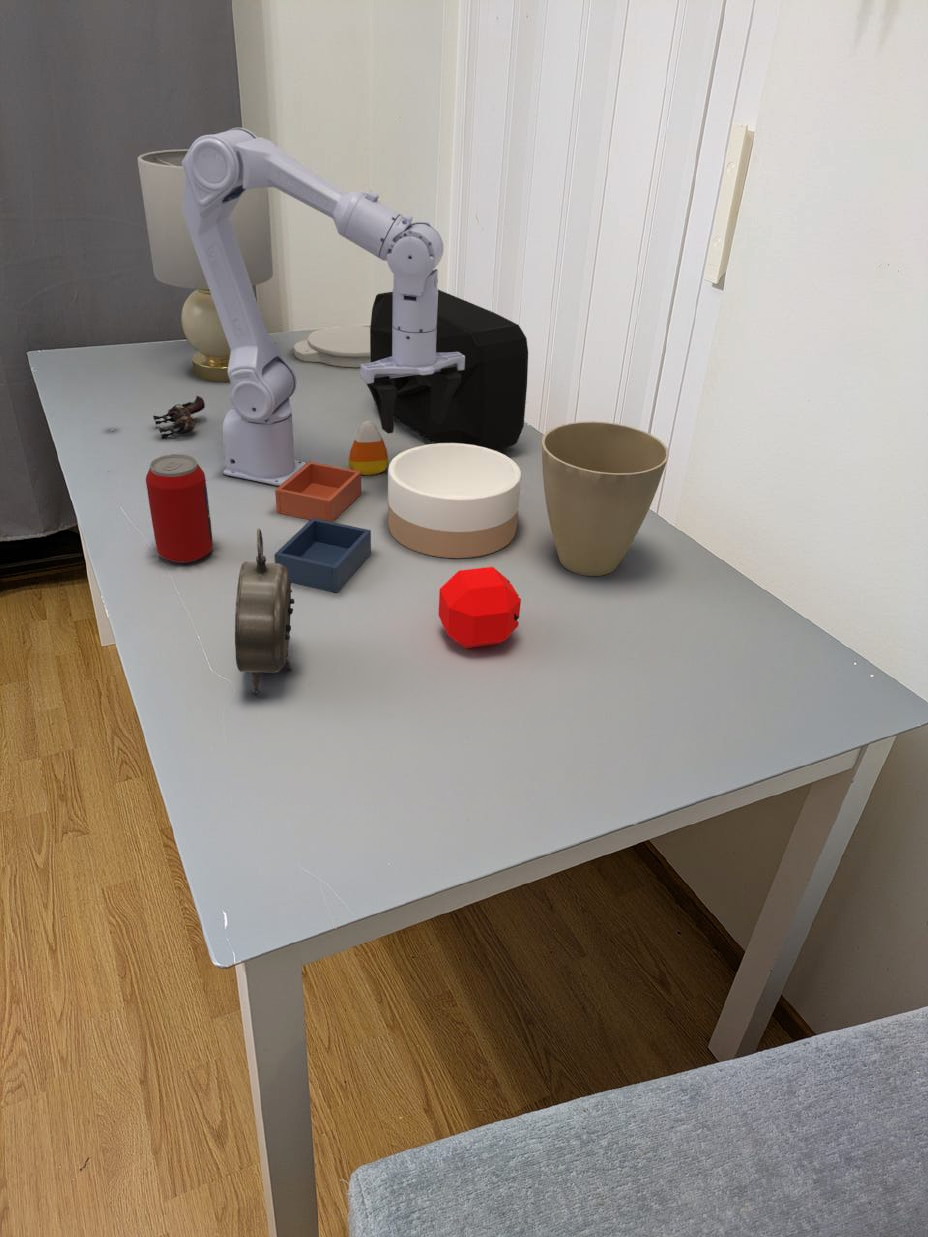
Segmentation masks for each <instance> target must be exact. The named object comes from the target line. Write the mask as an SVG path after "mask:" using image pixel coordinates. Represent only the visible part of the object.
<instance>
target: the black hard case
mask: <svg viewBox="0 0 928 1237" xmlns="http://www.w3.org/2000/svg"><path fill="white" fill-rule="evenodd" d="M392 326H393V291H387V292H380V293H378V294H376V295H375V298H374V301H373V304H372V308H371V317H370V326H369V327H370V359H371V363H372V362H375V361H378V360H382V359H385V358H388V357H391V356H392ZM449 352H459V353H461V354H462V355H464V356H465V367H464V370H459V371H458V370H457V372H458V373H459V374H461V383H460V384H459V386H458V387H457V389H456V390H455V392H454V394H453V396H452V398H451V400H450V402H449V405H448V407H447V410H446V413H445V417H444V420H443V424H441V425H438V424H437V423H435V422H434V421H432V419H431V384H430V376H429V375H420V374H418V375H411V376H404V377H397V378H390V381H391V382H392V385H393V386H394V387H395V388H397V389H398V391H397V395H396V399H395V405H394V419H397V420H398V421H400V422H402V424H404V425H406V426H407V427H409V428H410V429H412V430H413V431H415V432H416V433H417V434H419V435H421V436H423V437H425V438H426V439H428V440H430V441H431V442H433V443H434V444H437V443H460V444H469V445H476V446H480V447H485V448H488V449H491V450H494V451H497V452H498V451H500V450H504V449H508V448H510V447H512V446H515V445H516V444H518V442H519V439H520V436H521V434H522V431H523V429H524V426H525V417H526V416H525V415H526V414H525V413H526V404H527V402H526V401H527V391H528V374H529V347H528V339H527V337H526V334H525V333H524V331H523V329H522V328H521V326H520V325H519V324H518V323H516V322H514V321H512V320H510V319H508V318H506V317H504V316H502V315H500V314H498V313H496V312H494V311H492V310H490V309H487V308H484V307H482V306H479V305H477V304H474V303H472V302H470V301H468V300H465V299H462V298H460V297H458V296H455V295H453V294H450V293H448V292H445V291H443V290H440V289H438V306H437V335H436V353H449Z"/></svg>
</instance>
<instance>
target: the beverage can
mask: <svg viewBox="0 0 928 1237" xmlns="http://www.w3.org/2000/svg"><path fill="white" fill-rule="evenodd" d="M145 484H146V493H147V499H148V506H149V511H150V518H151V525H152V530H153V536H154V541H155V548H156V552H157V554H158V556H160V557H161V558H163V559H165V560H168V561H171V562H173V563H178V564H179V563H180V564H185V563H193V562H196V561H199V560H201V559H202V558H203V557H205V556H207V555H208V554H210V552H211V551H212V550H213V548H214V541H213V531H212V521H211V514H210V505H209V497H208V489H207V488H208V487H207V479H206V473H205V472H204V470H203V469H202V467H201V466H200V465H199V463H198V460H197V459H196V458H195V457H193V456H191V455H188V454H181V453H180V454H179V453H177V454H175V453H174V454H173V453H172V454H165V455H161V456H158V457H156V458H154V459H153V460H152V461H151V462H150V463H149V468H148V470H147V473H146V476H145Z"/></svg>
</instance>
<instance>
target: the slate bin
mask: <svg viewBox="0 0 928 1237" xmlns="http://www.w3.org/2000/svg"><path fill="white" fill-rule="evenodd" d="M371 554H372V530H371V529H366V528H362V527H358V526H353V525H348V524H343V523H338V522H335V521H333V522H330V521H325V520H320V519H316V518H312V519H311V520H308V522H306V523H305V525H303V526H302V528H300V529H299V530H298V531H297V532H296V533H294V535H293V536H292V537H291V538H290V539H288V540H287V541H286V542H285V543H284V544H283V545H282V546H281V547H280V548H279V549H278V550H277V551H276V552H275V553H274V563H279V564H282V565H283V566H285V567H286V568H287V570H288V572H289V575H290V582H291V583H294V584H297V585H302V586H306V587H311V588H314V589H319V590H323V591H328V592H330V593H331V592H332V593H338V592H339V591H340V590H341V589H342V588H343V587H344V585H346V583H347V582H348V581H349V580H350V579H351V577H352V576H353V575H354V574H355V573H356V572H357V570H358V569H359V568H360V567H361V566H362V565H363V564H364V563H365V562H366V560H367V559H368V558H369V557H370V556H371Z"/></svg>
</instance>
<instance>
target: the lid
mask: <svg viewBox="0 0 928 1237" xmlns="http://www.w3.org/2000/svg"><path fill="white" fill-rule="evenodd" d="M292 349H293V350H292V351H293V355H294V357H295V358H296V359H297V360H300V361H302V362H310V363H321V364H324V365H328V366H332V367H340V368H356V369H358V368H361V365H362V364H368V363H371V359H370V326H365V325H364V326H363V325H334V326H329V327H323V328H319V329H317V330H314V331H312V332H311V333H310V334H309V335H308V336H307V337H305V338H304V339H303V340H300V341H297V343H295V344H294V346H293V348H292Z"/></svg>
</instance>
